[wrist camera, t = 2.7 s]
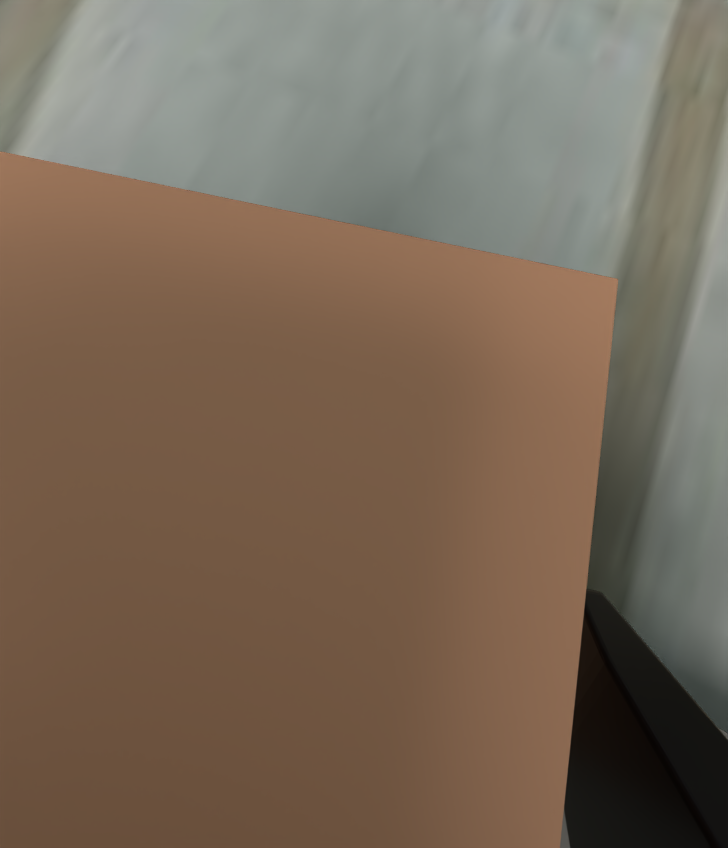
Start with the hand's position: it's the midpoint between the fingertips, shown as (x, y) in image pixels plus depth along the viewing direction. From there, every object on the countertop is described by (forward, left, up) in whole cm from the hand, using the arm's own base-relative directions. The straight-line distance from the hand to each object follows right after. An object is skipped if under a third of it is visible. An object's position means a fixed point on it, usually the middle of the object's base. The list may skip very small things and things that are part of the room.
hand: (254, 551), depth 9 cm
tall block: (0, 0, -8) cm, 8 cm away
